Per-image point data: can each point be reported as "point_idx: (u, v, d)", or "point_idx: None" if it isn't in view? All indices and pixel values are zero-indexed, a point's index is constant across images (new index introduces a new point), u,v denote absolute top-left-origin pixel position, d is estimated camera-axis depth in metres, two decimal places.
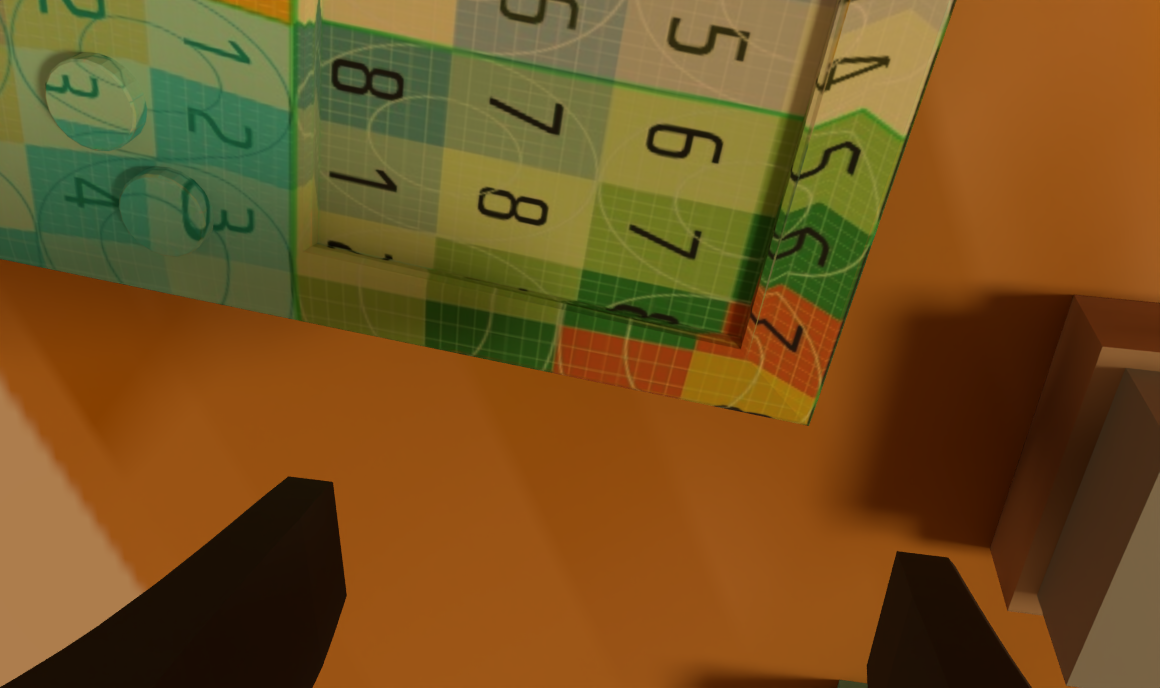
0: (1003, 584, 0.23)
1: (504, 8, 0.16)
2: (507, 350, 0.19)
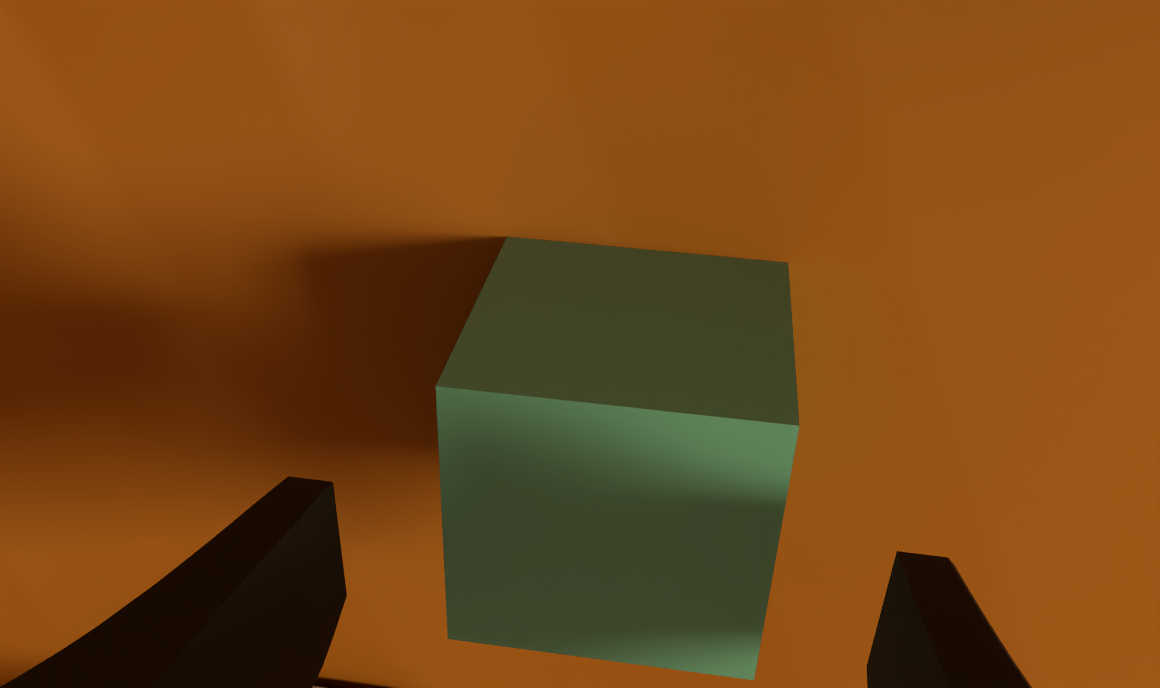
0: None
1: None
2: None
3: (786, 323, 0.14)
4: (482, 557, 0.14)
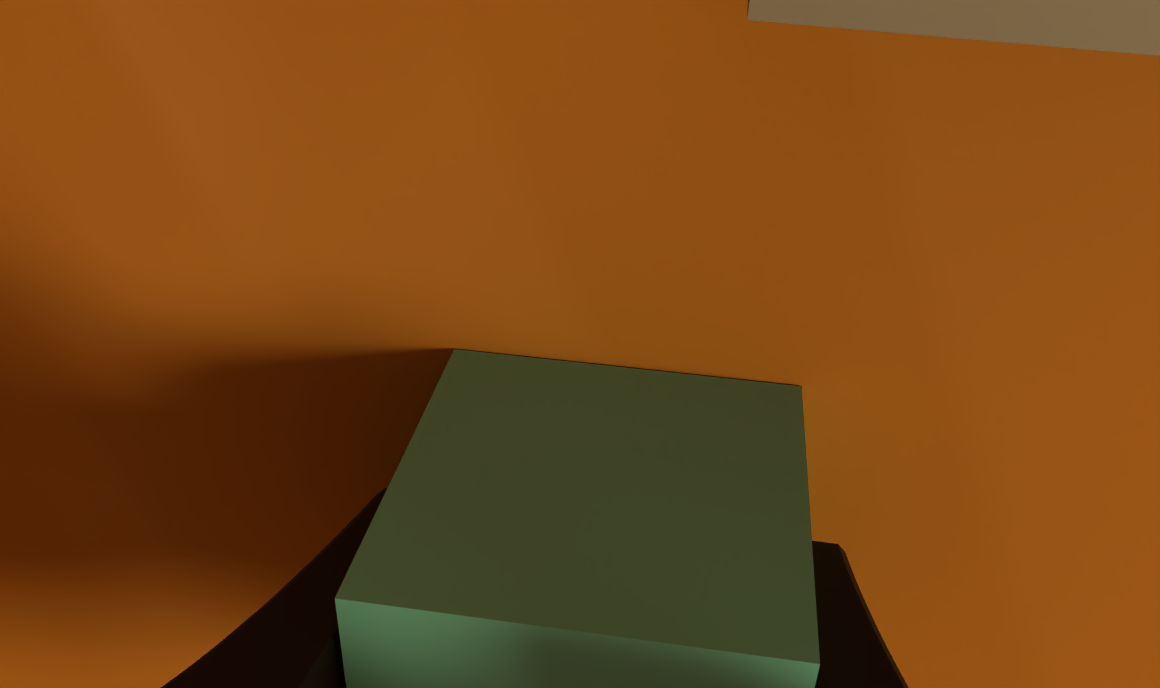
0: None
1: None
2: None
3: (800, 487, 0.11)
4: None
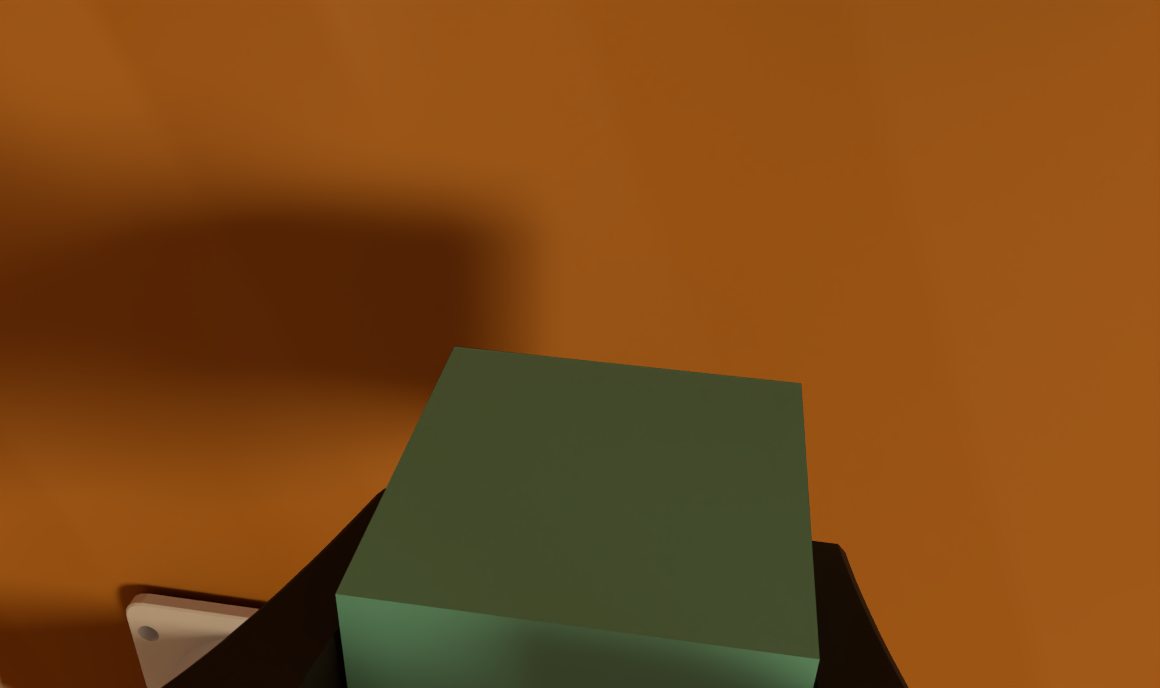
0: None
1: None
2: None
3: (800, 484, 0.11)
4: None
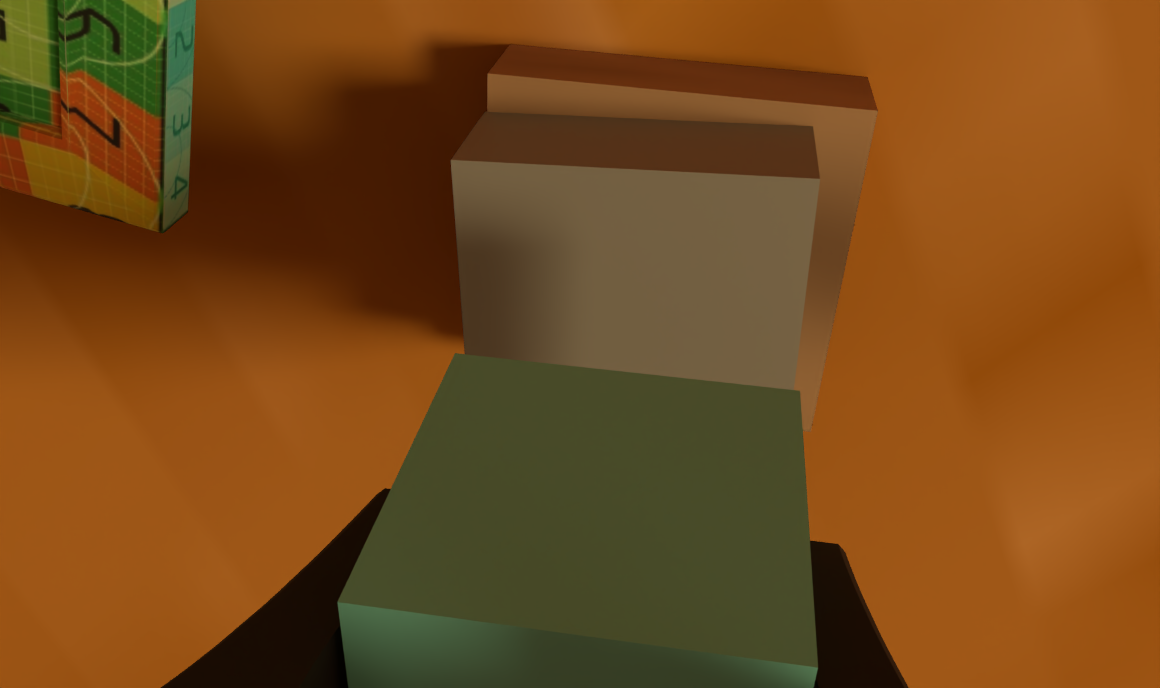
0: None
1: None
2: None
3: (799, 491, 0.11)
4: None
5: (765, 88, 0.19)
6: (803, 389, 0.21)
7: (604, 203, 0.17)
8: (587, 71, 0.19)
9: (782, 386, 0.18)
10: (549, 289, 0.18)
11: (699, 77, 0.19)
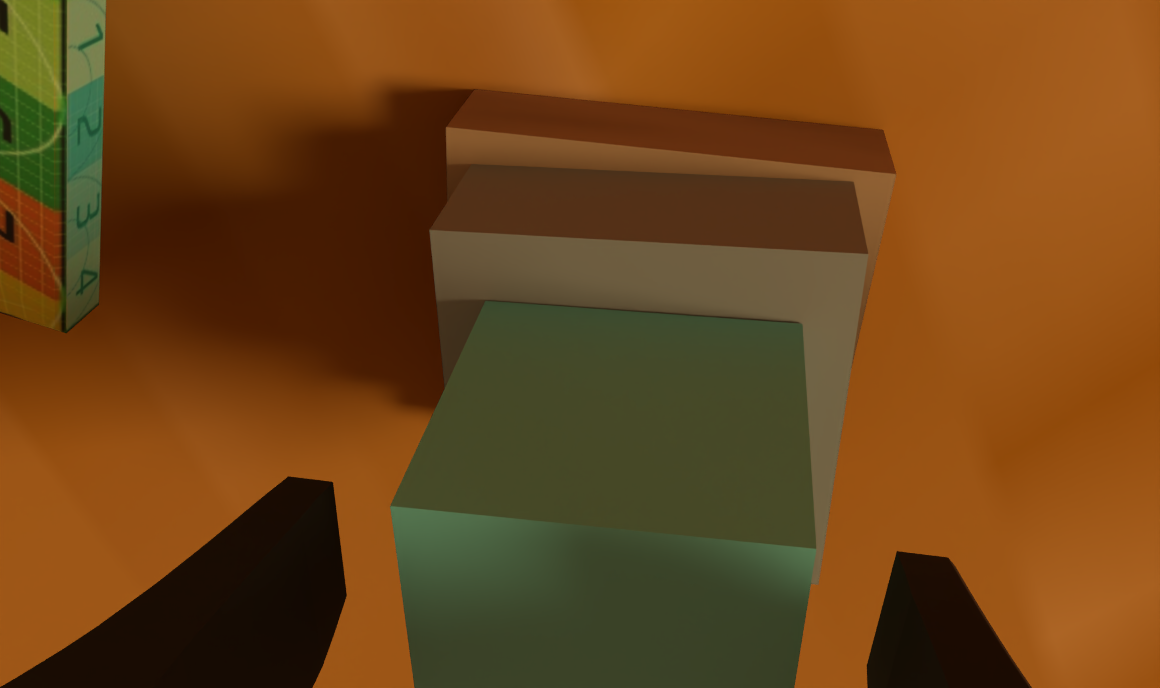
0: None
1: None
2: None
3: (801, 408, 0.12)
4: (456, 686, 0.12)
5: (765, 144, 0.16)
6: None
7: (610, 279, 0.14)
8: (561, 124, 0.17)
9: (818, 484, 0.16)
10: None
11: (689, 131, 0.17)
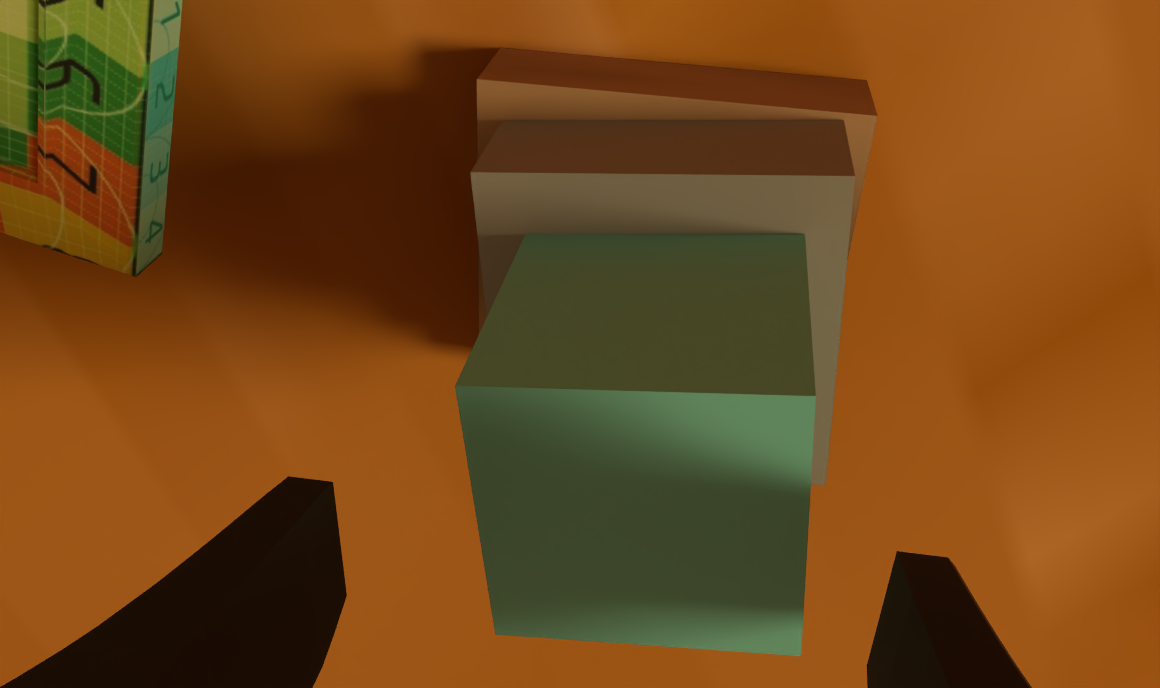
0: None
1: None
2: None
3: (803, 296, 0.14)
4: (519, 552, 0.14)
5: (761, 92, 0.18)
6: None
7: (630, 209, 0.16)
8: (578, 77, 0.19)
9: (821, 391, 0.18)
10: None
11: (693, 82, 0.19)
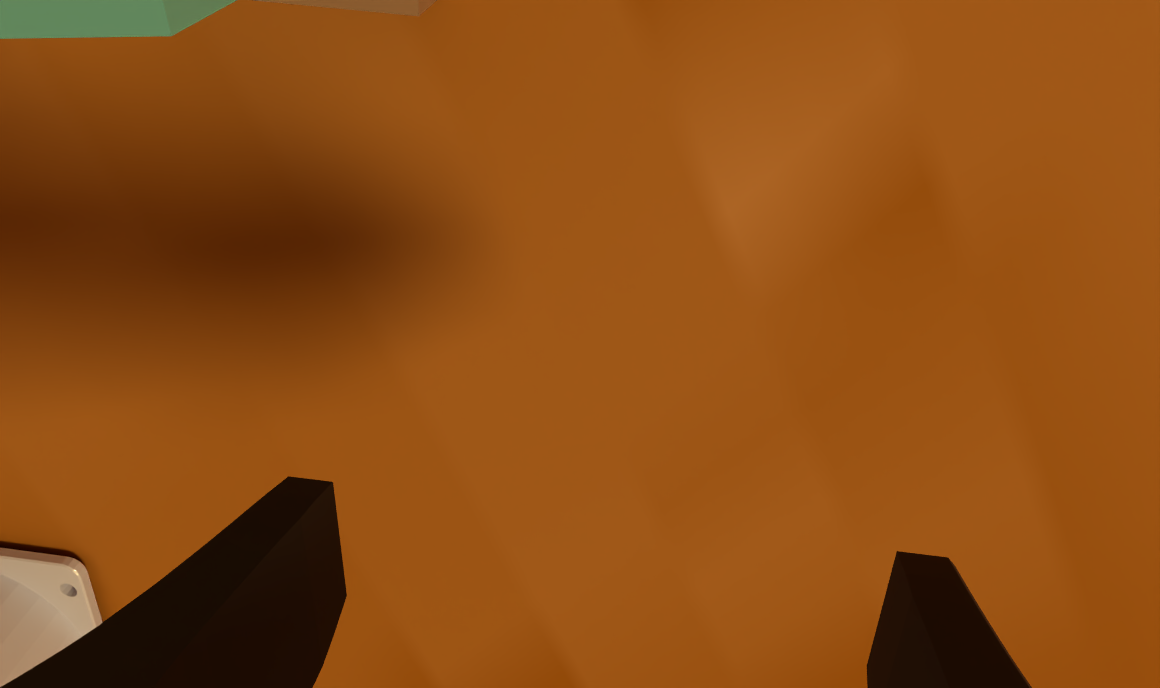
0: None
1: None
2: None
3: None
4: None
5: None
6: None
7: None
8: None
9: None
10: None
11: None
